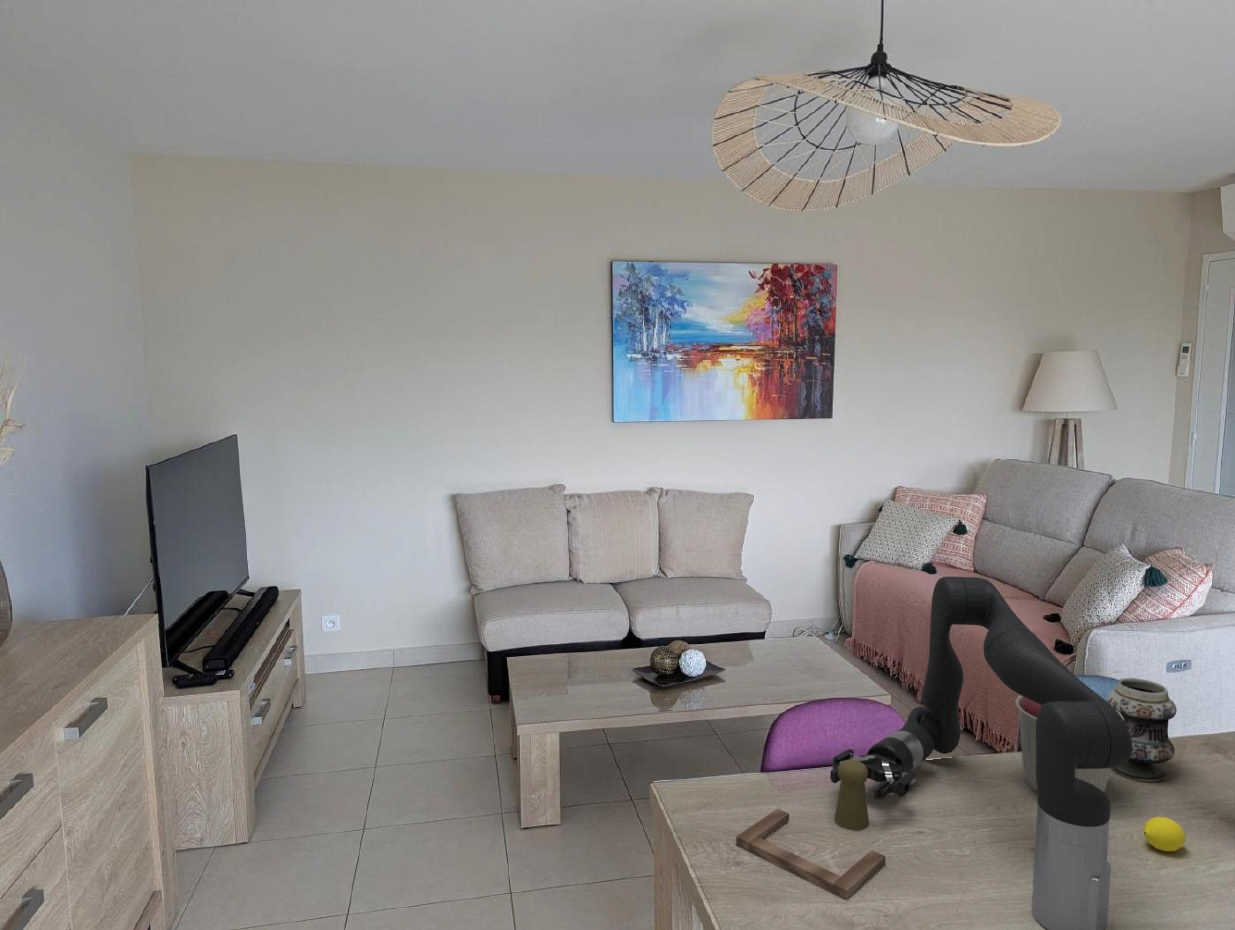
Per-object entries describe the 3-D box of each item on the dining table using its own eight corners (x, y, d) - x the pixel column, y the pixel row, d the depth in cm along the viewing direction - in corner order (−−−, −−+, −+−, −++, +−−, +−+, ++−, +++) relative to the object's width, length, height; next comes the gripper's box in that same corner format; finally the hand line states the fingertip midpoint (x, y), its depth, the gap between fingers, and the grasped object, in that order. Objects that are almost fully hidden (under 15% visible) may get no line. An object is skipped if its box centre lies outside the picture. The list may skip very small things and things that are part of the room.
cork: (870, 832, 143) (872, 772, 142) (835, 828, 144) (836, 769, 143) (867, 813, 149) (868, 756, 148) (833, 810, 150) (834, 754, 149)
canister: (1023, 809, 150) (1029, 700, 147) (1002, 764, 167) (1007, 665, 165) (1133, 822, 146) (1141, 709, 143) (1099, 773, 163) (1106, 672, 161)
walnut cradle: (885, 864, 133) (885, 856, 133) (846, 899, 125) (847, 890, 125) (777, 816, 148) (777, 808, 148) (736, 844, 139) (736, 836, 139)
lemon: (1167, 841, 140) (1174, 812, 140) (1192, 860, 135) (1198, 829, 134) (1130, 838, 140) (1136, 809, 139) (1153, 857, 134) (1159, 826, 134)
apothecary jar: (1171, 765, 166) (1177, 681, 164) (1173, 791, 156) (1180, 701, 154) (1102, 751, 172) (1107, 669, 170) (1100, 775, 162) (1106, 689, 160)
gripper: (862, 726, 162) (819, 753, 151) (932, 749, 152) (891, 780, 141) (861, 762, 163) (818, 791, 151) (931, 787, 153) (890, 821, 141)
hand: (854, 786), depth 146 cm, fingers open, 8 cm apart
